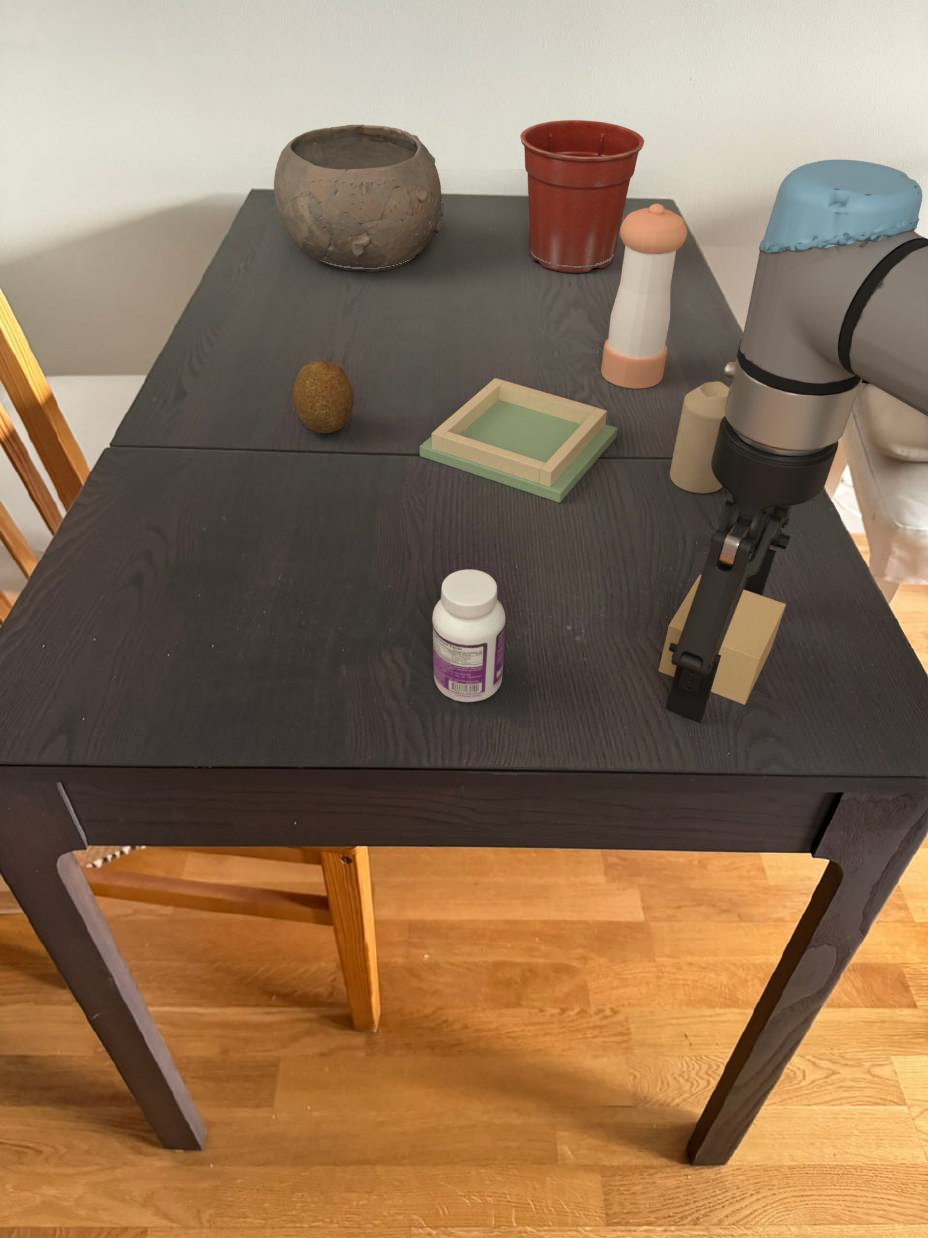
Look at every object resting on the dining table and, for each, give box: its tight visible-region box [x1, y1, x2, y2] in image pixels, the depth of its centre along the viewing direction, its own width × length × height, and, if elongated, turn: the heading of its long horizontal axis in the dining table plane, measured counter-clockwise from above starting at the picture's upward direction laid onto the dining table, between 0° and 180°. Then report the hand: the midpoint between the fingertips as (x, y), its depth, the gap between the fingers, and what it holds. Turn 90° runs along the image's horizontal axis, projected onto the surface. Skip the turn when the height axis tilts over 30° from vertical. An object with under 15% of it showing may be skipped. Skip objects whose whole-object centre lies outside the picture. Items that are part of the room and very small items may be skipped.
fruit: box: [292, 360, 355, 435], centre depth 96 cm, size 6×6×8 cm
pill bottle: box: [431, 568, 507, 703], centre depth 69 cm, size 5×5×10 cm
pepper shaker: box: [600, 203, 688, 390], centre depth 103 cm, size 7×7×19 cm
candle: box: [669, 381, 730, 494], centre depth 90 cm, size 6×6×10 cm
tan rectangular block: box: [658, 574, 787, 705], centre depth 73 cm, size 7×7×5 cm
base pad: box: [419, 377, 619, 503], centre depth 96 cm, size 16×14×3 cm
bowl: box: [273, 124, 445, 273], centre depth 129 cm, size 23×23×15 cm
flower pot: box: [519, 119, 645, 274], centre depth 129 cm, size 16×16×16 cm
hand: (713, 657), depth 74 cm, fingers open, 13 cm apart
